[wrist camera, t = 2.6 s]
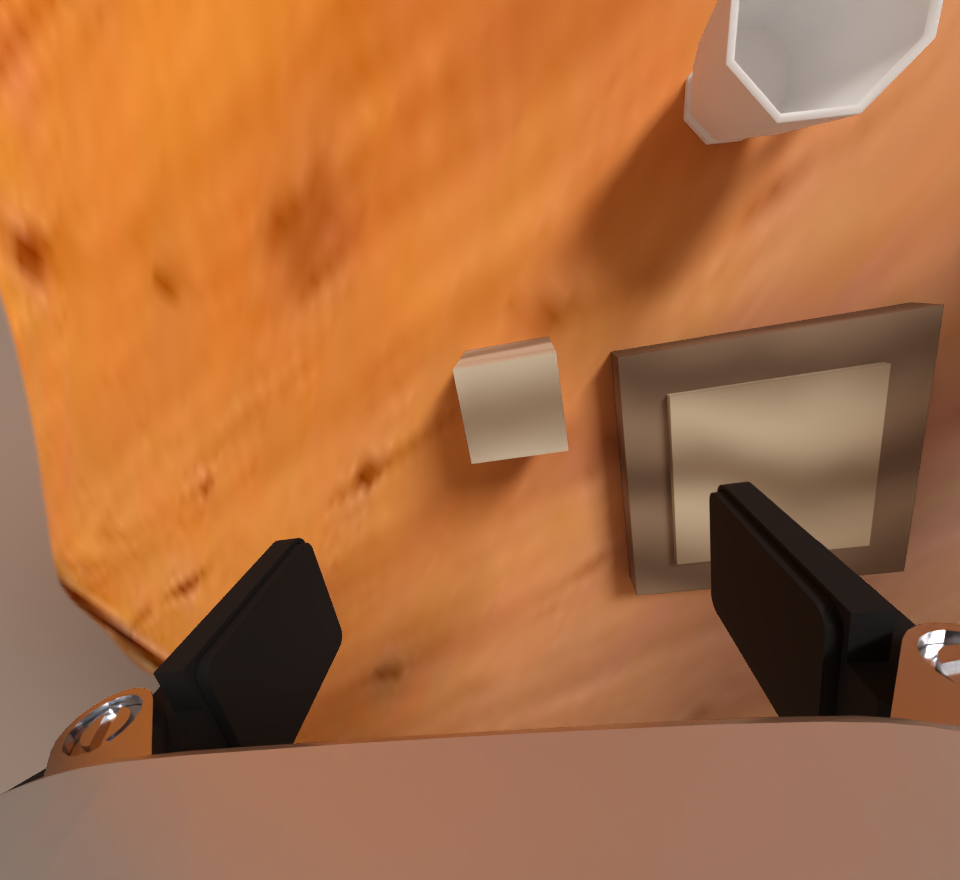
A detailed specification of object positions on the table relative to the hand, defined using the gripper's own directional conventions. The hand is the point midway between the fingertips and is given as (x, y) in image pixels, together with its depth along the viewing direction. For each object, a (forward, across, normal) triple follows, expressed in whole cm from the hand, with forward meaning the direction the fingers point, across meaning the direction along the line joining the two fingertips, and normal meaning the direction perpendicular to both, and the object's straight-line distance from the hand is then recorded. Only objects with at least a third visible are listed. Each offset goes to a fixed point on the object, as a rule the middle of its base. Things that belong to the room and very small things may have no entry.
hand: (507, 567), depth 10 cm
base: (+18, -14, +7) cm, 24 cm away
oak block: (+18, 0, 0) cm, 19 cm away
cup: (+19, -14, -13) cm, 27 cm away
